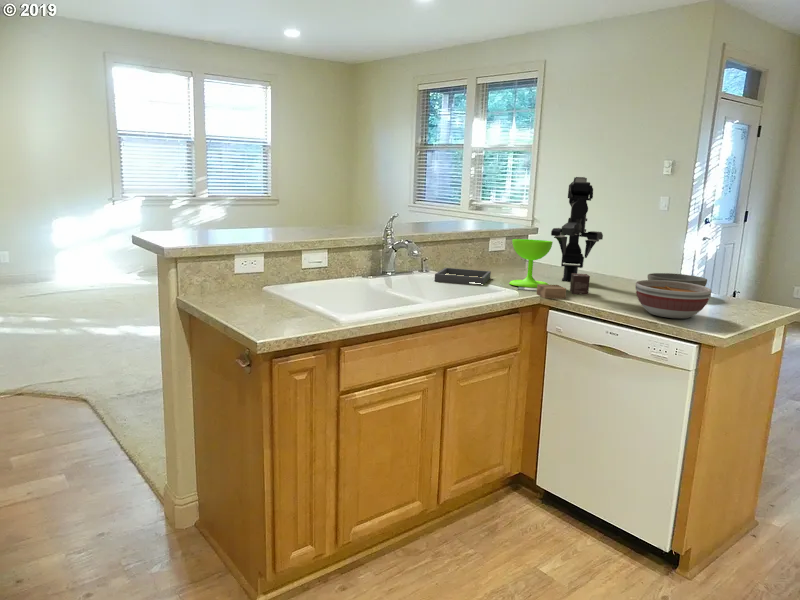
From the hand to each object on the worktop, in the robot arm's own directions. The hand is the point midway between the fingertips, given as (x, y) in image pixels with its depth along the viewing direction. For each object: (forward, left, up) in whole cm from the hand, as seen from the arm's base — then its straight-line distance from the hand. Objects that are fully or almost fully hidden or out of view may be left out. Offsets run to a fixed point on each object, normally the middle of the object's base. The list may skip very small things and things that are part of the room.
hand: (574, 256), depth 233 cm
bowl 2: (+28, +32, -14) cm, 45 cm away
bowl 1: (-13, +39, -14) cm, 44 cm away
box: (0, +3, -14) cm, 15 cm away
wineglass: (-7, -17, -14) cm, 23 cm away
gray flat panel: (0, -13, -14) cm, 19 cm away
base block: (+12, -7, -14) cm, 20 cm away
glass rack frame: (-8, -44, -14) cm, 47 cm away
